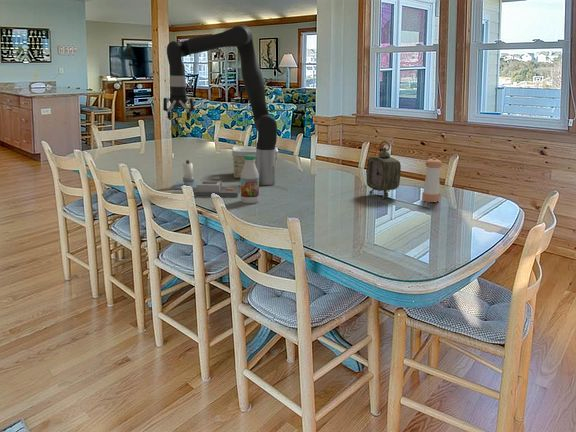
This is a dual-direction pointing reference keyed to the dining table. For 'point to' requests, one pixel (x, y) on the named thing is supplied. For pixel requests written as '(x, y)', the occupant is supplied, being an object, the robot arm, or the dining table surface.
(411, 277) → the dining table surface
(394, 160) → the tabletop clock
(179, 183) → the slate pad
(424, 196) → the pepper shaker
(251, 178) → the milk bottle
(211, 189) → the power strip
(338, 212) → the dining table surface
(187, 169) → the plug
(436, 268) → the dining table surface
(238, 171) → the storage basket
